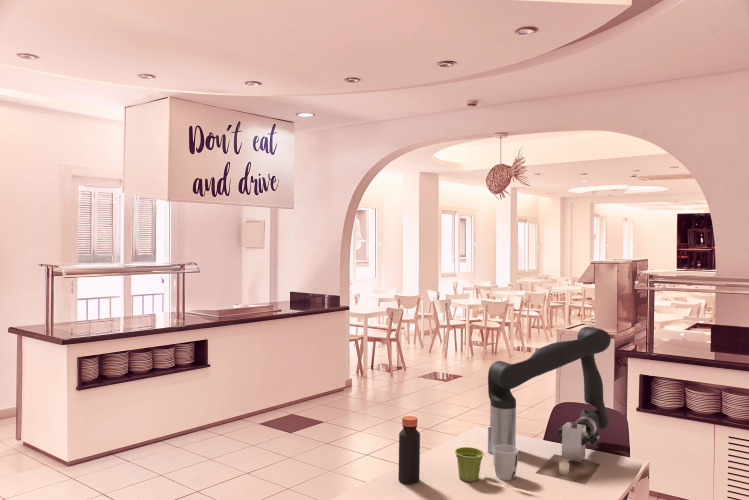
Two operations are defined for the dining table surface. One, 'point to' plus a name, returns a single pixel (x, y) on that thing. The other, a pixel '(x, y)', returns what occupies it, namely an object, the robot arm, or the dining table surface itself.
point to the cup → (505, 461)
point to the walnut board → (577, 470)
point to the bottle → (409, 451)
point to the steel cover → (573, 441)
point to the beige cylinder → (563, 468)
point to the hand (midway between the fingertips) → (572, 440)
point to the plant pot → (469, 463)
